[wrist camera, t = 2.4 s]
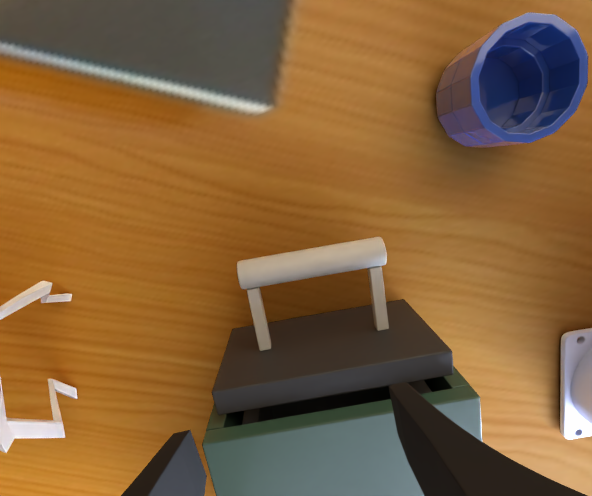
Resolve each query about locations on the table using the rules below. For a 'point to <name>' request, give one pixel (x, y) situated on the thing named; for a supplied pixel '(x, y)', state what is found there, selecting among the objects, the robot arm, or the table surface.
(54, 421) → the origami figure
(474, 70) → the blue cup
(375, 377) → the drawer
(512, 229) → the table surface
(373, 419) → the sage green box
